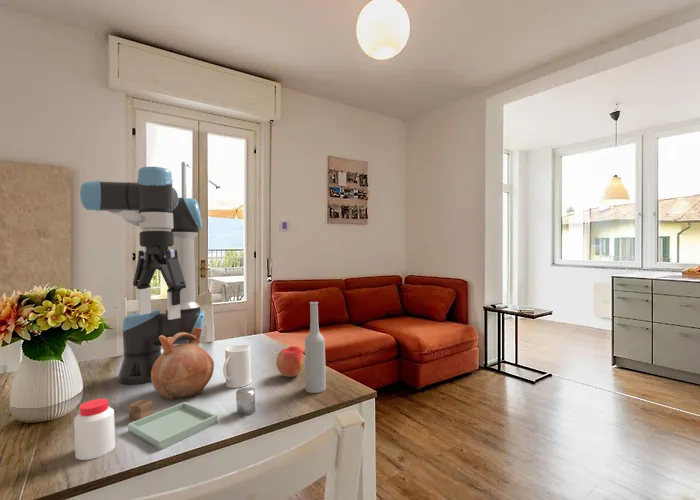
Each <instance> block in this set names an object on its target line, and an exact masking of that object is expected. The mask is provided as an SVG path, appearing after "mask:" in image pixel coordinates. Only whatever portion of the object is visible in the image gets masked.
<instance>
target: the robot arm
mask: <svg viewBox="0 0 700 500" xmlns="http://www.w3.org/2000/svg"><path fill="white" fill-rule="evenodd" d="M173 181H174V180H173V176H172V171H171V170H169V169H168V168H165V167H162V166H161V167H160V166H144V167H143V166H142V167H140V168H139V169H138V171H137V180H136V182H131V181H129V182H124V181H122V182H121V181H120V182H119V181H101V180H95V181H85V182H83V183H82V184H81V186H80V191H79V196H80V202H81V204H82V207H83V208H84V209H85V210H87V211H96V212H101V211H103V212H104V211H106V212H109V213H111V214H113V215H116V216H120V218H121V217H122V219H123V220H124V221H126V223H129V224H130V225H133V226H136V227H139V229H140V230H142V231H140V232H139V234H138V235H139V245H140V247H142V248H143V247H144V248H145V250H139V251H138V256H137V257H138V260H137V264H136V267H135V268H136V269H135V272H134V278H133V282H132V286H134V287H136V289H138V291H137V292H138V312H135V313H132V314H128V315H127V316H125V317H124V318H123V320H122V330H121V331H122V341H123V342H122V345H123V359H122V363H121V366H120V368H119V369H120V370H119V372H118V382H119V383H120V382H121V384H124V383H125V384H126V385H134V384H135V385H137V384H144V383H147V382H148V383H149V382H152V380H151V370H152V367H153V365H154V363H155V361H156V360H157V359H158V357H159V356H160V355H161V354H162V351H161V350H162V348H161V347H162V344H161V342H160V340H159V336H161V335H163V336H165V337H166V338H168V337H173V336H174V335H175V334H177V333H182V332H185V333H189V334H191V335H192V332H193V329H194V327H195V328H201V329H202V332H201V335H200V339H199V342H200V341H201V340H202V336H203V329H204V324H205V323H204V321H205V311H204V310H202V309H201V305H200V304H199V303H198V302H196V299H197V298H196V297H197V296H196V268H195V267H196V266H195V265H196V264H195V263H196V262H195V260H196V259H195V238H196V237H197V236H198V235H199V230H202V229H203V221H202V216H201V215H202V214H201V211H200V205H199V203H198V200H197V199H195V198H191V197H179V194H178V192H177V190H176V189H175V188H174V187H173ZM156 270H158V271H159V272H160V274H161V275H162V278H163V280H164V282H165V285H166V286H167V290H166V299H167V301H166V303H167V306H166V307H165V312H164V313H161V311H160V309H158V308H157V309H152V295H151V294H152V293H151V290H152V289H151V288H152V286H151V285H150V284H151V282H152V280H153V277H154V275H155V272H156ZM188 342H189V339H188V338H187V337H181V338H179V339H178V340H176V341H175V343H174V344H173V346H176V345H179V344H184V343H188ZM125 384H124V385H125Z"/></svg>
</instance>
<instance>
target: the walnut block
mask: <svg viewBox="0 0 700 500" xmlns="http://www.w3.org/2000/svg"><path fill="white" fill-rule="evenodd" d="M153 405H154V404H153V400H147V399H139V400H137V401H135V402H133V403H131V404H130V405H128V416H129V417H128V420H129V421H132V422H134V421H137V420H139V419H142V418H144V417H147V416H149V415H152V414H154V411H153V410H154V409H153Z"/></svg>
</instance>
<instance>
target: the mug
mask: <svg viewBox="0 0 700 500" xmlns="http://www.w3.org/2000/svg"><path fill="white" fill-rule="evenodd" d="M224 350H225V352H224V354H225V355H224V357H225V361H224V364H223V368H222V371H223V376H224V378H225V386H226V387H227V388H230V389H239V388H240V389H241V388H246V387H248V386H249V385H251V384H252V382H253V381H252V380H253V379H252V375H251V374H252V373H251V372H252V371H251V369H252V367H251V366H252V365H251V346H249V345H247V344H238V345H237V344H236V345H235V344H234V345H230V346H228V347H225V349H224Z"/></svg>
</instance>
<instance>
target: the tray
mask: <svg viewBox="0 0 700 500" xmlns="http://www.w3.org/2000/svg"><path fill="white" fill-rule="evenodd" d="M218 422H219V421H218V415H217V414H216V413H213V412H211V411H208V410H205V409H204V408H201V407H199V406H196V405H194V404H192V403H188V402H186V401H183V402H181V403H177V404H176V405H173V406H171V407H168V408H165V409H162V410H160V411H158V412H155V413H153V414H152V415H149V416H147V417H144V418H142V419H139V420H137V421H132V422H130V423H127V424H128V425H127V429H128V433H130V434H132V435H133V436H135V437H137V438H139V439H140V440H141V441H144V442H145V443H147V444H148V445H150V446H152V447H153V448H155V449H157V450H158V451H162V450H163V449H166V448H168V447H171V446H172V445H174V444H176V443H179V442H180V441H182V440H184V439H187V438H189V437H191V436H193V435H195V434H197V433H199V432H200V433H201V431H203V430H206V429H208V428H210V427H212V426H215V425H216V424H218Z"/></svg>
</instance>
